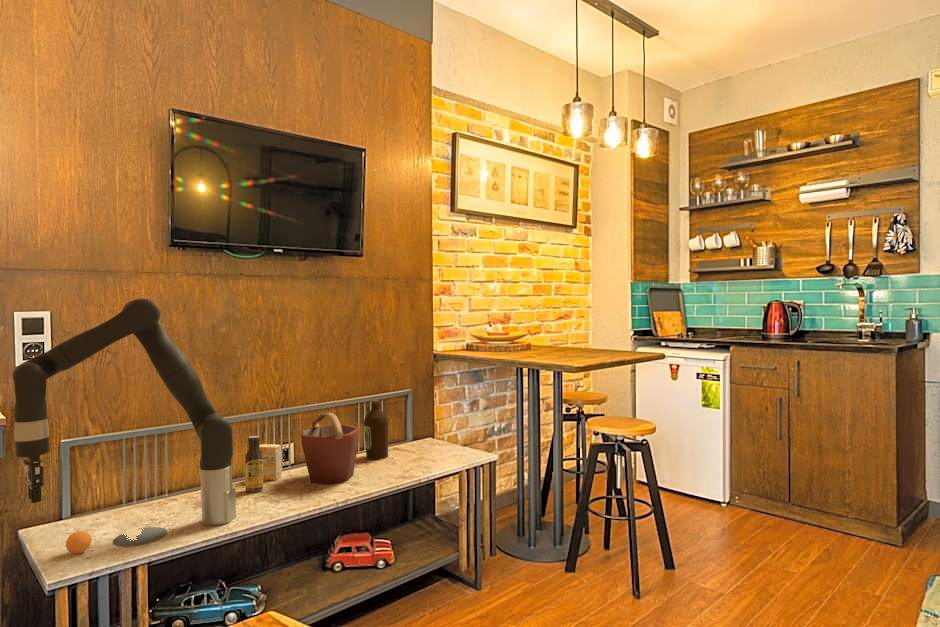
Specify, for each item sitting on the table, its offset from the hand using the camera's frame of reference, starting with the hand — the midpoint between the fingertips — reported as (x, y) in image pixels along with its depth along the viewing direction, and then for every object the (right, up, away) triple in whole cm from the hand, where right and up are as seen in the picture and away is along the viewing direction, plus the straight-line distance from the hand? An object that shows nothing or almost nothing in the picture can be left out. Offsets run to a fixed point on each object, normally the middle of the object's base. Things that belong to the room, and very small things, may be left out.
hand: (35, 499), depth 162 cm
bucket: (+63, -14, +72) cm, 97 cm away
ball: (+7, -14, +7) cm, 17 cm away
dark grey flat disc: (+19, -16, +18) cm, 30 cm away
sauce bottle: (+38, -15, +59) cm, 72 cm away
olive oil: (+76, -13, +102) cm, 128 cm away
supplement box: (+38, -15, +74) cm, 85 cm away
